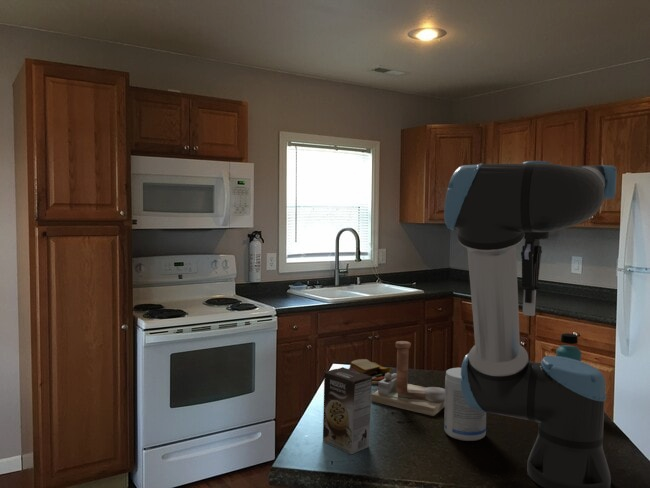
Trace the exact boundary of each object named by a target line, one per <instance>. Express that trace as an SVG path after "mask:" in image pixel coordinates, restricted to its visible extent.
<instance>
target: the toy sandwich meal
mask: <svg viewBox="0 0 650 488" xmlns="http://www.w3.org/2000/svg"><path fill="white" fill-rule="evenodd" d="M348 369H350V370H353V371H356V372H359V373H362V374H365V375H368V376H372V385H378V382H379V381H381V380H383V379H385V374H386V373H390V374H391V372H392V371H391V370H392V367H391V366H390V367H384V366H381V365H380V364H378V363H376V362H374V361H373V362H372V361H370V360H369V359H367V358H365V359H364V358H361V359H360V358H359V359H355V360H352V361H350V365H349V368H348Z"/></svg>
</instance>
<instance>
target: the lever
mask: <svg viewBox="0 0 650 488" xmlns="http://www.w3.org/2000/svg"><path fill="white" fill-rule="evenodd" d="M411 347H412V343H411V342H409V341H406V340H400V341H399V340H398V341H396V342H395V348H397V350H396V351H397V352H396V373H397V376H396V391H398V397H407V398H420V399H426V400H428V401H432V402H444V401H445V388H442V387H439V386H438V387H437V386H428V387H426V388H425V389H424V391H423V390H408V389H407V386H408V384H409V383H408V380H409V379H408V378H409V377H408V376H409V352H410V351H409V349H410V348H411Z"/></svg>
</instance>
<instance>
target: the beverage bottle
mask: <svg viewBox="0 0 650 488" xmlns="http://www.w3.org/2000/svg"><path fill="white" fill-rule="evenodd" d="M560 342H561V343H564V344H562V345H560V346H558V347H557V348H556V349H555V350H556V353H555V354H556V355H555V356H556V357H557V356H561V357H566V358H571V359H575V360H578V361H581V362H582V350H580V349H579V347H578V346H574V345H577V344H578V335H577V334H574V333H562V334H561V337H560Z"/></svg>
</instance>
